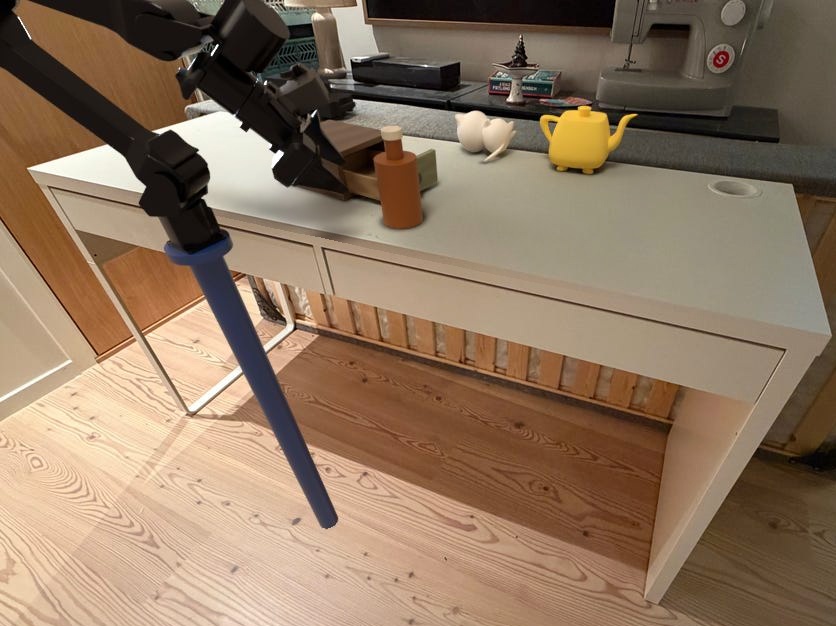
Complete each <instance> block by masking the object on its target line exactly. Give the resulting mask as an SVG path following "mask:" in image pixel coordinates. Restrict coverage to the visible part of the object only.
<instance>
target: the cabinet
mask: <svg viewBox="0 0 836 626" xmlns="http://www.w3.org/2000/svg"><path fill="white" fill-rule="evenodd" d="M320 125H321V128H322V130H323V131H324V132H325V134H326V135H327V136H328V138H329V139H330V140H331V142H332V143H333V144H334V146H335V147H336V148H337V150H338V151H339V152H340V154H341V155H342V156H343V157H345V156H347V155H349V154H352V153H354V152H357V151H359V150H362V149H364V148H369V149H374V150H378V151H383V152H385V146H384V139H382V135H381V129H378V128H372V127H368V126H363V125H358V124H353V123H348V122H342V121H339V120H335V119H334V120H333V119H327V120H325V121H320ZM321 159H322V161H323V162H324V163H325V164H326V165H327V166H328V167H329V168H330V169H331V170H332V171H333V172H334V173H335V174H336V175H337V176H338V177H339V178H340V179H341V180H342V182H343V183H344V184H345V185H346V183H345V178H344V174H343V169H342V166H339V165H337V164H334V163H332V162H330V161H327V160H325V159H323V158H321ZM296 187H298V188H301V189H305V190H308V191H311V192H315V193H319V194H321V195H324V196H328V197H332V198H335V199H337V200H342V201H347V200H349V199H352V198H353V197H355V196H357V195H358V194H355V193H352V192H348V191H347V193H346V194H340V193H335V192H331V191H326V190H322V189H317V188H312V187H306V186H300V185H297V186H296Z"/></svg>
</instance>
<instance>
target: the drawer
mask: <svg viewBox="0 0 836 626" xmlns="http://www.w3.org/2000/svg"><path fill="white" fill-rule="evenodd" d="M380 153H383V151H378V150H374V149H369V148H364V149H362V150H359V151H357V152H354V153H352V154H349V155H347V156H345V157H344V159H345V160H346V163H345V164H344V165H343V166H342V169H343V174H344V178H345V183H346V186H347V187H348V189H349V190H348V192H352V193H355V194H357V195H359V196H362V197H366V198H369V199H373V200H375V201H376V200H377V201H380V195H379V189H378V183H377V177H376V171H375V165H374V157H375V156H376V155H378V154H380ZM416 157H417V167H418V177H419V186H420V192H422V191H423V190H425V189H427V188H429V187H431V186H432V185H434V184H437V183H438V181H439V179H438V178H439V177H438V167H437V166H438V165H437V153H436V149H434V148H430V149H428V150H426V151H424V152H421V153H420V154H416Z"/></svg>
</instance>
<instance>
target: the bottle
mask: <svg viewBox="0 0 836 626" xmlns="http://www.w3.org/2000/svg"><path fill="white" fill-rule="evenodd" d="M380 130H381V135H382V139H384V146H385V152H383V153H380V154H378V155H376V156H375V157H374V165H375V171H376V177H377V183H378V189H379V195H380V200H379V201H380V207H381V212H382V219H383V224H384V225H385V226H386V227H388V228H391V229H395V230H405V229H411V228H414V227H417V226H419V225H420V224H422V222H423V221H424V216H423V215H424V214H423V206H422V197H421V191H420V186H419V177H418V167H417V157H416V156H417V154H416V153H414V152H412V151H409V150H404V148H403V147H404V146H403V139H402V138H403V127H402V126H398V125H386V126H383V127H381V128H380Z"/></svg>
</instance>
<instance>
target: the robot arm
mask: <svg viewBox="0 0 836 626" xmlns="http://www.w3.org/2000/svg"><path fill="white" fill-rule="evenodd" d="M27 1H29V2H31V3H34V4H36V5H39V6H42V7H46V8H49V9H51V10H54V11H57V12H60V13H63V14H66V15H69V16H72V17H74V18H78V19H80V20H83V21H86V22H88V23H92V24H93V25H96V26H97V25H98V26H100V27H103V28H105V29H107V30H109V31H111V32H114V33H115V34H117V35H118V36H120V38H121V39H122V40H124V41H125V42H126V43H127V44H128V45H130V46H131V47H133V48H135V49H137V50H139V51H141V52H143V53H145V54H147V55H148V56H151V57H153V59H154V58H155V59H157V60H158V61H162V62H168V63H169V62H174V61H177V60H180V59H182V58H185V57H189V56H191V55H194V54H196V56H195V58H194V59H193V61H192V62H191V65H190V66H189V67H179V68H178V70H177V71H176V72H175V75H174V77H175V80H176V81H177V83H178V85H179V88H180V93H181V97H182V98H183V100H185V101H190V99H191V97H192V96H193V95H194V93H195V92H196V90H198V91H200V92H201V93H202V94H203V95H205V96H206V97H207V98H208V99H210V100H211V101H213V102H214V103H215V104H216V105H218V106H219V107H221V108H222V109H223V110H225V112H227V113H229V115H231V116H233V117H234V118H235V119H237V120H238V121H239V126H238V127H239V128H240V129H241V130H242V131H243V132H245V133H248V132H249V131H250V130H251V131H252V132H254V134H256V135H258V136H259V137H260V138H261V139H263V140H264V141H266V142H267V143H268V144H269V146H268V150H269V151H270V152H272V153H273V154H274V155H273V157H272V163H271V171H272V175H273V180H275V181H277V182H278V183H280V184H281V185H282V186H284V187H285V188H290V187H291V186H292V187H298V186H297V185H300V186H306V187H312V188H317V189H322V190H326V191H331V192H335V193H340V194H346V193H347V191H348V190H349V189H348V187H347V186H346V185H345V184H344V183H343V182H342V180H341V179H340V178H339V177H338V176H337V175H336V174H335V173H334V172H333V171H332V170H331V169H330V168H329V167H328V166H327V165H326V164H325V163H324V162H323V161H322V159H321V158H323V159H325V160H327V161H330V162H332V163H334V164H337V165H339V166H343V165H344V164H345V163H346V160H345V159H344V157H343V156H342V155H341V154H340V152H339V151H338V150H337V148H336V147H335V146H334V144H333V143H332V142H331V140H330V139H329V138H328V136H327V135H326V134H325V132H324V131H323V130H322V128H321V125H320V123H321V121H320V118H319V112H318V110H316V111H315V108H317V107H320V108H321V107H323V106H325V105H326V104H327V103H328V102H329V97H328V94H329V92H328V90H327V88H326V87H325V85H324V83H325V82H323V80H322V78H321V74H320V72H318V71H317V70H316V69H315V68H314V67H310V68H309V67H307V66H306V65H305V64H303V63H302V62H301V61H299V62H296V63H295V64H293V65H291V66H290V70H291V77H292V80H291V81H290V80H288V81H287V83H286V84H285V85H283V86H281V87H280V88H278V87H277V86H276V85H275V84H274V83H272V82H271V81H270V82H268V81H267V80H266V82H265V83H264V84H263V83H262V82H263V81H261V80H260V79H259V78H258V77H256V76H255V75H254V74H253V73H256V74H263V73H265V71H266V70H267V69H268V67H269V66H270V65H271V63H272V62H273V61H274V59H275V58H276V57H277V55H279V53H280V51H281V50H282V48H283V47H284V46H285V45H286V44H287V42H288V41H289V39H290V38H291V32H290V29H289V27H288V26H287V24H286V22H285V21H284V19H283V18H282V17H281V16H280V14H279V13H278V12H277V11H276V10H275V8H274V7H272V6H271V7H270V6H269V5H268V4H267V3H265V1H263V0H224V1H223V2H222V4H221V5H220V7H219V9H218V11H217V12H216V14H215V15H214V14H211V13H207V12H204V11H200V10H197V9H196V8H195V6H194V4H193V3H192V2H191V1H189V0H27ZM20 2H21V0H0V69H2V70H4V71H5V72H8V73H9V74H10V75H12V76H13V77H14V78H16V79H17V80H18V81H20V82H21V83H23V84H24V85H26V86H27V88H30V90H32V91H34V92H35V93H37V94H38V95H39V96H40V97H42V98H43V99H45V100H46V101H47V102H48V103H50V104H52V106H54V107H55V108H57V109H58V110H60V111H61V112H62V113H63V114H66V116H68V117H69V118H70V119H72V120H73V121H75V122H76V123H77V124H79V125H80V126H82V127H83V128H84V129H85V130H86V131H88V132H90V133H91V134H92V135H93V136H95V137H97V138H98V139H99V140H101V141H102V142H103V143H105V144H106V145H108V146H109V147H110V148H112V149H113V150H114V151H116V152H117V153H119V154H120V155H121V156H122V157H123V158H124V159H125V161H126V162H127V164H128V166H129V168H130V169H131V172H132V173H133V175H134V176H135V178H136V179H137V180H138V181H139V182H140V183H141V184H142V185H143V186H144V187H145V188H144V190H143V192H142V195H141V196H140V198H139V201H138V205H139V207H140V208H141V209H142V210H143V212H145V214H146V215H147V216H148V217H152V218H158V220H159V222H160V224H161V226H162V227H163V229H164V232H165V233H166V236H167V238H168V239H169V240H167V241H166V243H167V245H169V246H171V247H173V248H175V249H177V250H180V251H182V252H184V253H186V254H189V255H191V254H194V253H196V252H198V251H200V250H203V249H205V248H207V247H209V246H211V245H213V244H216V243H218V242H220V241H222V240H224V239H226V236H225V235H224V234H221V233H219V232H221V229H222V228H221V227H220V224H219V221H218V220H217V217H216V215H215V213H214V211H213V207H211V206H208V204H207V201H206V199H204V198H203V197H205V196H207V195H208V194H209V183H210V180H211V172H210V168H209V163H208V162H207V160H206V159H205V158H204V157H203V156H202V155H201V154H200V153H198V152H199V151H200V149H199V148H198V147H195V146H193V145H191V143H188V142H187V141H186V140H184V139H183V137H181V135H180V134H179V133H177V132H176V131H174V130H172V129H168V130H166V131H163V132H162V133H157V132H155V131H152V130H150V129H148V128H146V127H145V126H143V125H142V124H141V123H140V122H138V121H137V120H136V119H134V117H132V116H130V114H128V113H127V112H125V111H124V110H123V109H121V108H120V107H119V106H117V105H116V104H115V103H114V102H112V101H111V100H110V99H109V98H108V97H106V96H105V95H103V94H102V93H101V92H100V91H99V90H97V89H95V87H93V86H91V85H90V84H89V83H88V82H87V81H85V80H84V79H82V77H80V76H79V75H77V74H76V73H75V72H74V71H72V70H71V69H70V68H68V67H67V66H65V64H63V63H62V62H60V61H59V60H58V59H57V58H55V57H54V56H53V55H51V54H50V52H47V50H45V49H44V48H43V47H41V46H40V45H38V44H37V43H36V42H35V41H34V40H33V39H32V38H31V36H30V34H29V33H28V31H27V29H26V27H25V26H24V24H23V22H22V20H21V19H20V17H19V15H18V14H16V13H15V12H14V11H15V10H16V9H17V8H18V7H19V6H20ZM213 42H214V43H216V46H215V48H214V50H213V51H212V52H207V51H202V50H203V49H205V46H206V44H209V43H213ZM252 72H253V73H252ZM314 111H315V112H314ZM309 112H312V113H313V114H312V116H310V115H309V114H308V113H309ZM220 228H221V229H220ZM166 243H165V244H166Z"/></svg>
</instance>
